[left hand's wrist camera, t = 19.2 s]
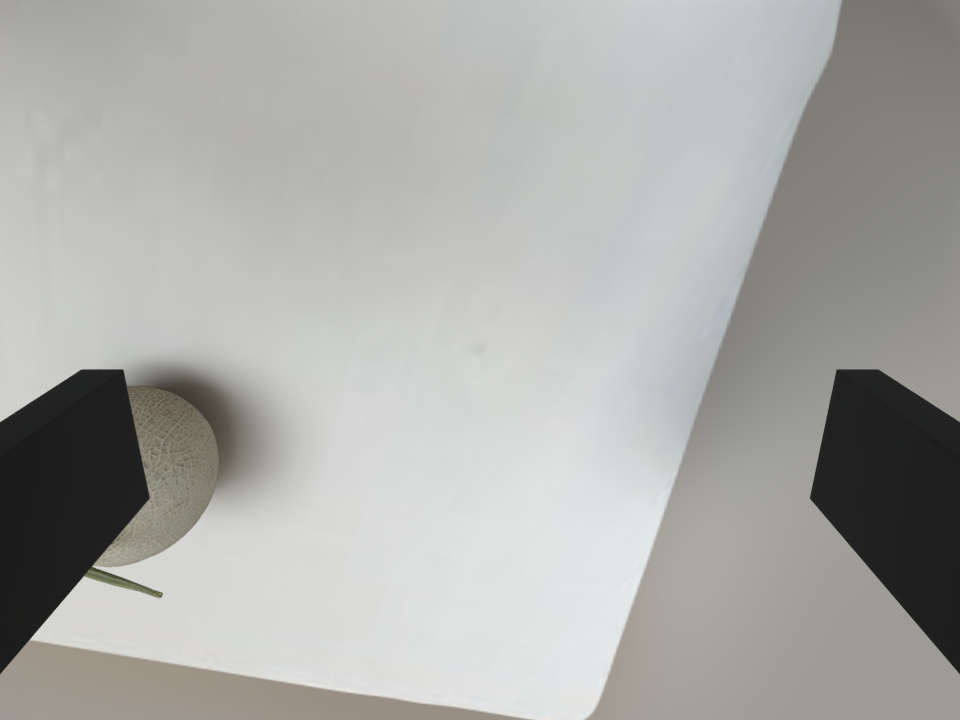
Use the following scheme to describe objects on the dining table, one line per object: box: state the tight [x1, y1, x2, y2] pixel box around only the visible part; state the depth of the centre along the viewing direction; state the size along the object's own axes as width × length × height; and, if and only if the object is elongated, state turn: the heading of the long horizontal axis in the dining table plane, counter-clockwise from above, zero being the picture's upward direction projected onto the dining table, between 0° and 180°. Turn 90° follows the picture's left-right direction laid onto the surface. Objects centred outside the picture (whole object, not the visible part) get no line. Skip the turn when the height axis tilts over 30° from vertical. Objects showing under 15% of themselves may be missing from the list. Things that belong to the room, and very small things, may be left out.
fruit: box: [84, 386, 219, 598], centre depth 40 cm, size 10×12×15 cm
